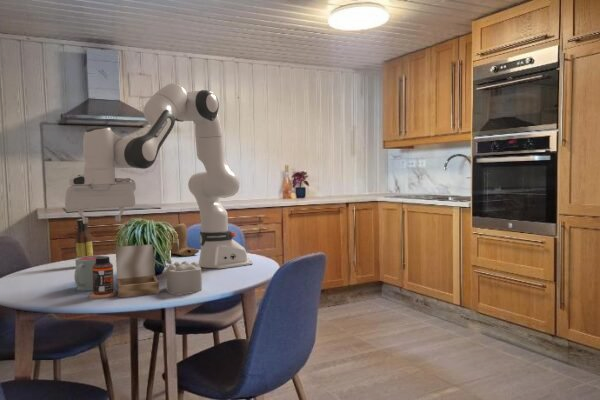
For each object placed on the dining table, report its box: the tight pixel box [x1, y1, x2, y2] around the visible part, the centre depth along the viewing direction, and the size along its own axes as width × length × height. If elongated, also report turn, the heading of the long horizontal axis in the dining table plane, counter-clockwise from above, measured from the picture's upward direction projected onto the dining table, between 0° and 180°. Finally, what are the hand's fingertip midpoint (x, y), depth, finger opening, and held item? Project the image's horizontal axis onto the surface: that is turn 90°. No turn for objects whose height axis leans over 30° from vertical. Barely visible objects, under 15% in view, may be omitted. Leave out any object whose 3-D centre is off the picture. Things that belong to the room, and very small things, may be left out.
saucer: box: [89, 289, 117, 300], centre depth 145 cm, size 8×8×1 cm
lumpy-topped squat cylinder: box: [165, 260, 203, 295], centre depth 152 cm, size 10×13×9 cm
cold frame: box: [115, 244, 160, 298], centre depth 152 cm, size 12×16×14 cm
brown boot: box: [170, 222, 200, 257], centre depth 219 cm, size 15×12×15 cm
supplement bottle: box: [92, 255, 115, 295], centre depth 145 cm, size 6×6×11 cm
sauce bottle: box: [74, 218, 94, 258], centre depth 194 cm, size 7×6×20 cm
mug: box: [74, 255, 103, 292], centre depth 154 cm, size 14×9×10 cm
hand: (102, 222), depth 145 cm, fingers open, 8 cm apart
